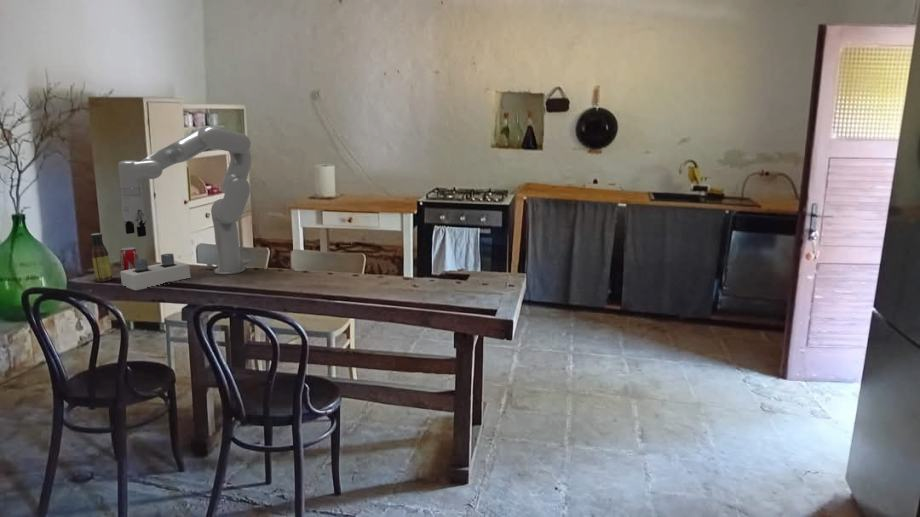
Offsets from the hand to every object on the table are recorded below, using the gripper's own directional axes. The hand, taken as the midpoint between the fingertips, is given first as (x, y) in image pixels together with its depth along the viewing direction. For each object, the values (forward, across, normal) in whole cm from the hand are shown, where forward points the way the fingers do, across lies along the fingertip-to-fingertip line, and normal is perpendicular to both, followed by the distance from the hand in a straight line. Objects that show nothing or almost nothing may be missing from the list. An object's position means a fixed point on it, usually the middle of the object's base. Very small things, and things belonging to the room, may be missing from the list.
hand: (136, 234), depth 267 cm
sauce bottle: (+21, -20, -6) cm, 29 cm away
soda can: (+21, -18, +5) cm, 28 cm away
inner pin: (+16, +2, +11) cm, 19 cm away
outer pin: (+16, +2, 0) cm, 16 cm away
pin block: (+20, +2, +6) cm, 21 cm away
